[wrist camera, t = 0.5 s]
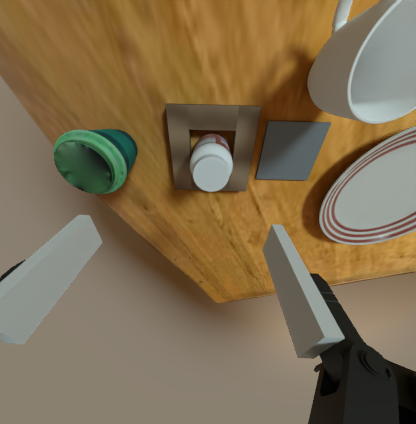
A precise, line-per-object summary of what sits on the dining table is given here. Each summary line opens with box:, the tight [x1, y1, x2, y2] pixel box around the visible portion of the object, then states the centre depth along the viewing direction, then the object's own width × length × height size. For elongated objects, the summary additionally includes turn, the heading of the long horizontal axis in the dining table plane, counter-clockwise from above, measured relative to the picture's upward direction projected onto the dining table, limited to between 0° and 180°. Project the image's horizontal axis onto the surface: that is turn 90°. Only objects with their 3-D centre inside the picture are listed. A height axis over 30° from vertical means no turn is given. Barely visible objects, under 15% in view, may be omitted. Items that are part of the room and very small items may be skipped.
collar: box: [165, 104, 261, 191], centre depth 28 cm, size 14×14×2 cm
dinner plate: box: [319, 126, 416, 245], centre depth 32 cm, size 28×27×3 cm
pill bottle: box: [190, 133, 233, 192], centre depth 24 cm, size 6×6×11 cm
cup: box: [54, 129, 137, 194], centre depth 24 cm, size 8×8×12 cm
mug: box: [307, 0, 416, 124], centre depth 17 cm, size 12×9×12 cm
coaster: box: [256, 121, 331, 180], centre depth 29 cm, size 10×10×1 cm
